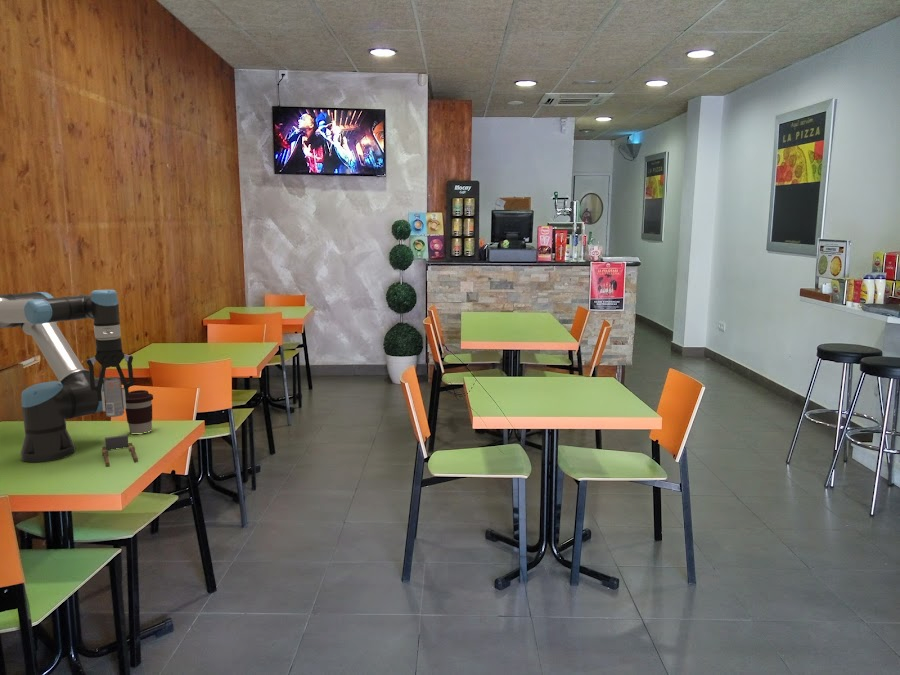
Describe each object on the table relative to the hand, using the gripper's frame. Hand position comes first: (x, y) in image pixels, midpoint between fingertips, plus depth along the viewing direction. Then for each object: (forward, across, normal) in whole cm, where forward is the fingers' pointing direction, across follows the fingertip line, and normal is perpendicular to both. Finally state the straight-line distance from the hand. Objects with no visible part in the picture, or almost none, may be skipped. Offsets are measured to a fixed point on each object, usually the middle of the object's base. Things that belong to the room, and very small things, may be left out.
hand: (114, 409), depth 226 cm
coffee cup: (+15, +9, +23) cm, 29 cm away
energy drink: (+2, 0, 0) cm, 2 cm away
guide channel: (+15, 0, -4) cm, 15 cm away
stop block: (+15, 0, +6) cm, 16 cm away
